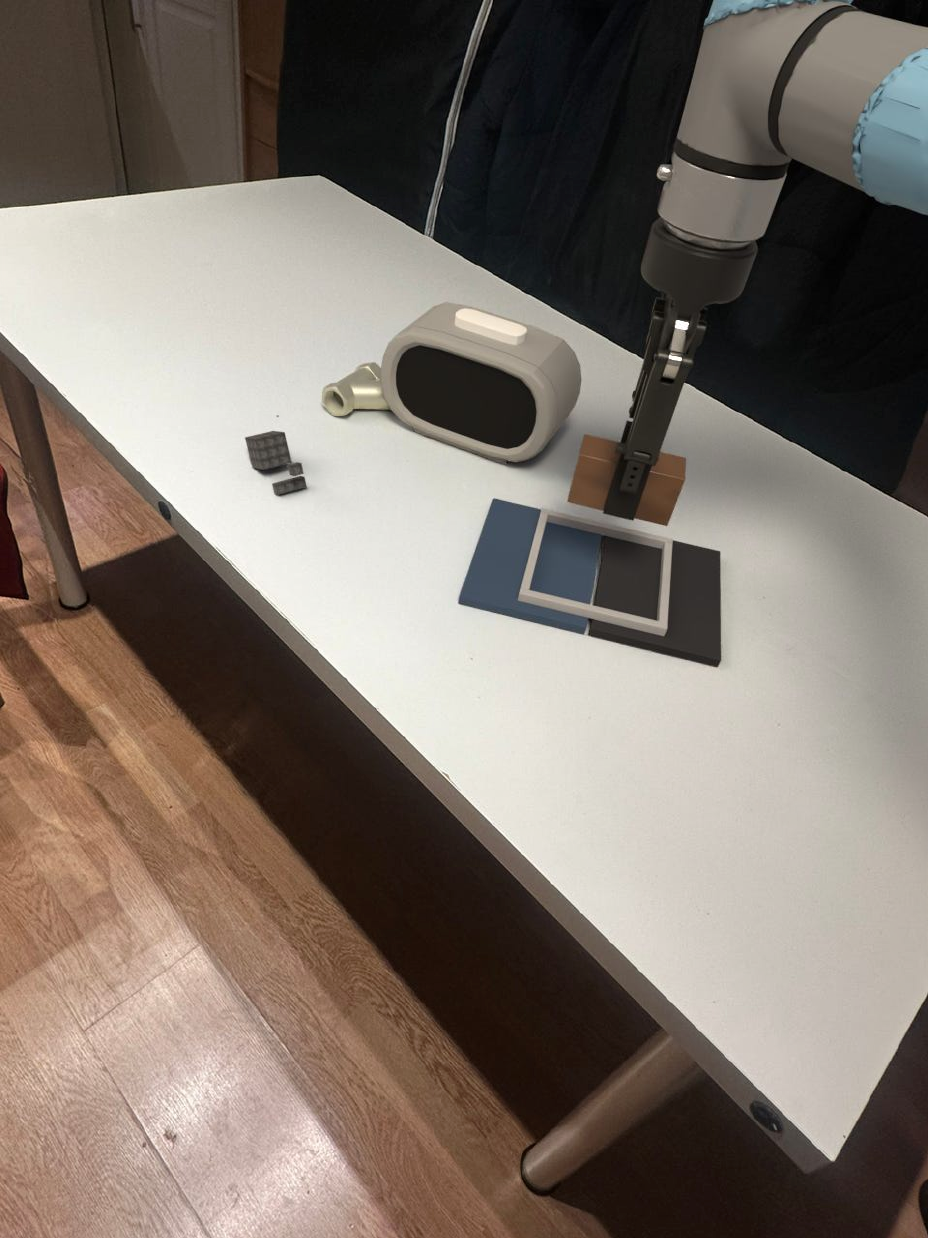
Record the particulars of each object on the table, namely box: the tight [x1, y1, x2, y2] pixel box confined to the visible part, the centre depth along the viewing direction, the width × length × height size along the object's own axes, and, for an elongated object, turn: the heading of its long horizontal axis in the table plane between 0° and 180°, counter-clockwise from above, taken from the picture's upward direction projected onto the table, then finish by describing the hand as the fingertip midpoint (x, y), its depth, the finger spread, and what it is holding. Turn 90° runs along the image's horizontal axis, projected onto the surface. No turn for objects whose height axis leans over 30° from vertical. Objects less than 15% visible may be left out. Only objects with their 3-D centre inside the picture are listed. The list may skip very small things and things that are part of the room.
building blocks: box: [244, 430, 308, 496], centre depth 84 cm, size 3×6×8 cm
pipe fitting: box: [321, 361, 392, 417], centre depth 96 cm, size 8×4×7 cm
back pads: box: [458, 497, 722, 668], centre depth 79 cm, size 24×16×2 cm, turn 77°
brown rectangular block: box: [566, 433, 687, 527], centre depth 72 cm, size 9×4×5 cm, turn 77°
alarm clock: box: [380, 301, 582, 465], centre depth 92 cm, size 21×10×13 cm, turn 65°
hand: (620, 500), depth 73 cm, fingers closed on brown rectangular block, 3 cm apart
